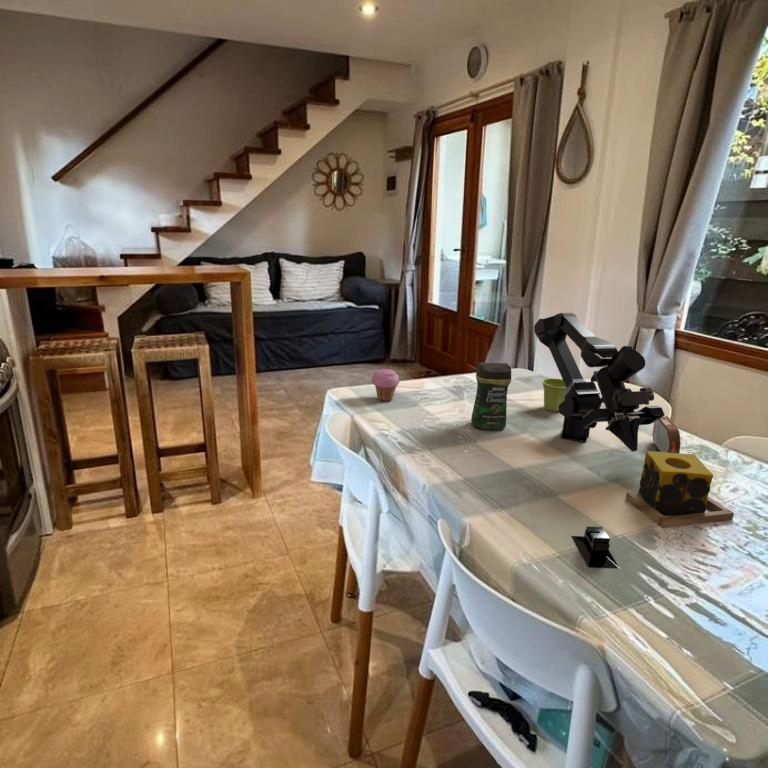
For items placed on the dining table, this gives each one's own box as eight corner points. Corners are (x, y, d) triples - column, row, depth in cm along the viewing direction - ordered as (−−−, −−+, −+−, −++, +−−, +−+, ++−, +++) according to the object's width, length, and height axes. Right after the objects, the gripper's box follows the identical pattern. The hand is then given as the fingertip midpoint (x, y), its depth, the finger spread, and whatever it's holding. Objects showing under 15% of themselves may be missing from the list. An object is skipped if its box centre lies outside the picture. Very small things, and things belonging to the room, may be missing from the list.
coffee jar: (474, 431, 147) (480, 366, 142) (468, 420, 155) (474, 359, 149) (509, 431, 148) (516, 367, 142) (501, 421, 156) (507, 359, 150)
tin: (678, 464, 131) (685, 433, 129) (664, 463, 132) (670, 431, 129) (660, 440, 145) (666, 412, 143) (648, 439, 146) (653, 410, 143)
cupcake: (398, 404, 166) (399, 373, 163) (370, 403, 166) (371, 372, 163) (398, 395, 175) (399, 366, 172) (371, 394, 175) (372, 365, 172)
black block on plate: (564, 533, 101) (567, 512, 100) (602, 535, 101) (606, 514, 100) (586, 575, 89) (590, 552, 88) (629, 577, 89) (634, 554, 88)
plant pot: (573, 407, 169) (576, 381, 166) (565, 416, 161) (569, 389, 158) (543, 402, 173) (547, 376, 171) (534, 409, 166) (538, 383, 163)
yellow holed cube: (685, 495, 116) (695, 453, 113) (705, 520, 107) (716, 475, 104) (636, 490, 118) (645, 449, 115) (652, 514, 108) (661, 470, 105)
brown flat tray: (625, 498, 114) (626, 492, 113) (690, 492, 117) (691, 486, 117) (662, 527, 103) (664, 520, 103) (732, 519, 107) (734, 512, 107)
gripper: (596, 376, 120) (619, 440, 113) (667, 373, 124) (693, 435, 117) (572, 397, 130) (591, 458, 123) (638, 394, 134) (660, 452, 127)
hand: (634, 450), depth 122 cm, fingers closed
